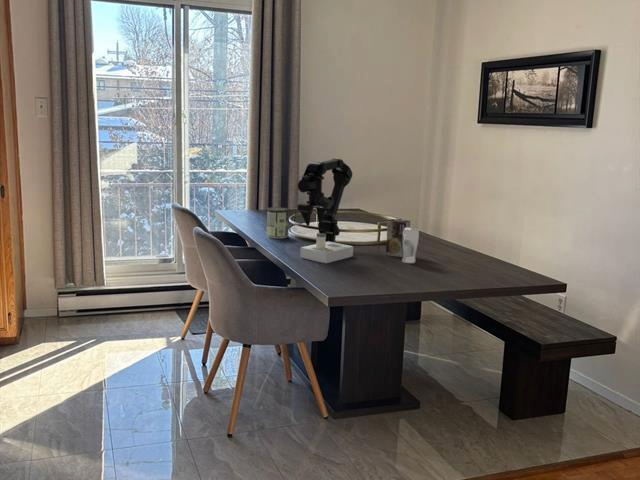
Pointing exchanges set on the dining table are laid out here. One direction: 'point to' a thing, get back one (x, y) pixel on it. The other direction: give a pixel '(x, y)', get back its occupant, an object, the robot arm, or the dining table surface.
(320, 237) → the plug
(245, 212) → the dining table surface
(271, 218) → the coffee can
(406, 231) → the beer glass
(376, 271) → the dining table surface
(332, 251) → the port box
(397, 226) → the coffee box
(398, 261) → the dining table surface
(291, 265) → the dining table surface
